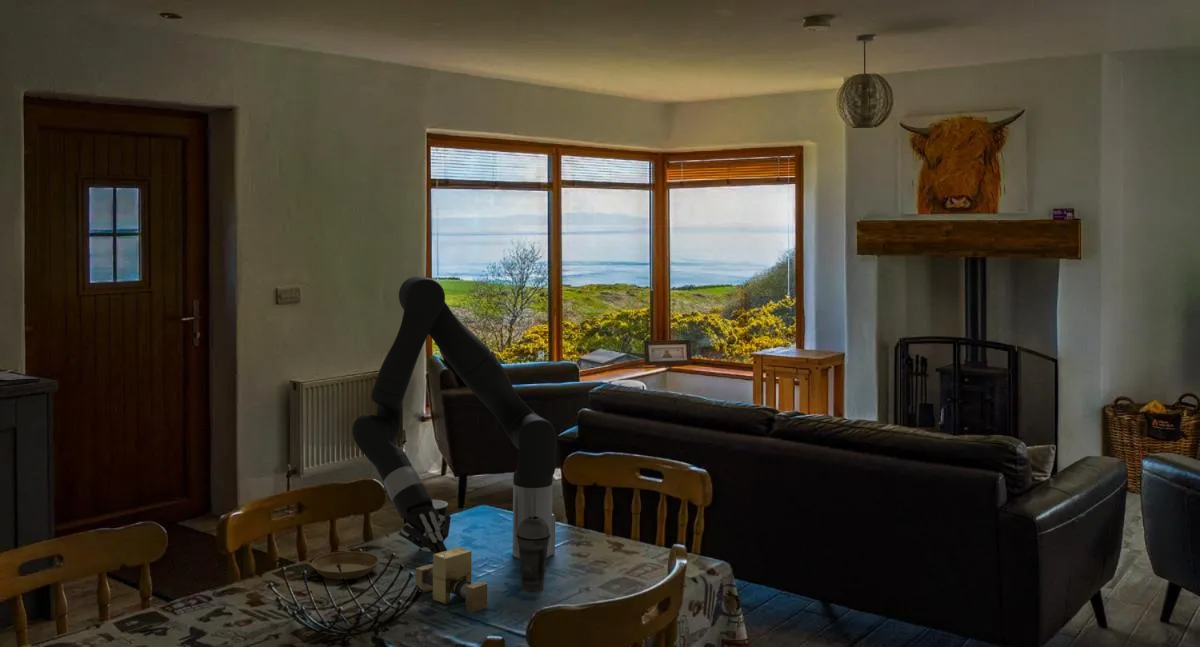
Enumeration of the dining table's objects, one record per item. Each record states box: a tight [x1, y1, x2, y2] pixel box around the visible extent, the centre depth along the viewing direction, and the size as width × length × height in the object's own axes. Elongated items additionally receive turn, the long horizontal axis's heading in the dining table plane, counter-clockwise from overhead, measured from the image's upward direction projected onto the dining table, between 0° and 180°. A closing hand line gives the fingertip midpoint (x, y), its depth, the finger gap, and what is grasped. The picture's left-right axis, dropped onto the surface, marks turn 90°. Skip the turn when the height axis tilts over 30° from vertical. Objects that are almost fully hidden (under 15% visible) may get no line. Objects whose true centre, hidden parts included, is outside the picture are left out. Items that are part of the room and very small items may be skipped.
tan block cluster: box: [415, 563, 488, 613], centre depth 226 cm, size 18×9×5 cm, turn 48°
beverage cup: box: [517, 496, 550, 592], centre depth 233 cm, size 7×7×20 cm
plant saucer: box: [310, 551, 380, 581], centre depth 242 cm, size 15×15×3 cm
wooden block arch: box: [432, 546, 473, 605], centre depth 225 cm, size 4×7×10 cm, turn 138°
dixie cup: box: [420, 499, 449, 553], centre depth 260 cm, size 8×8×11 cm
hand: (444, 560), depth 227 cm, fingers closed
